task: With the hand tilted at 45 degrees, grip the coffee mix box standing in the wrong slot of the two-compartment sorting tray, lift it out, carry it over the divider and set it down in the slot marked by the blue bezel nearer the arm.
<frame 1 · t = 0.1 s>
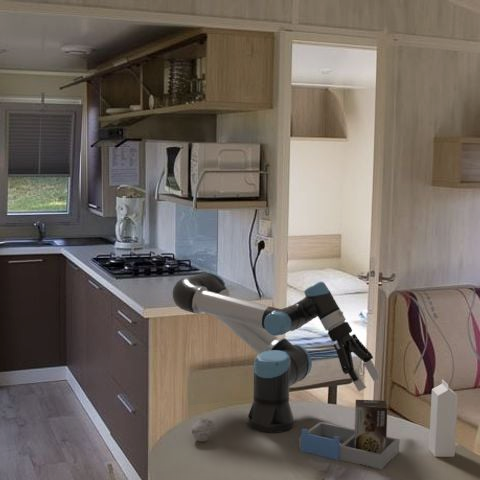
hand: (370, 384, 239), 15 cm above the table, tool tilted 35°, fingers open, 13 cm apart
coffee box: (369, 456, 221), resting in two-compartment sorting tray
grey lumpy rounded piece: (201, 441, 230), on the table
two-compartment sorting tray: (348, 450, 224), on the table
milk: (441, 453, 224), on the table
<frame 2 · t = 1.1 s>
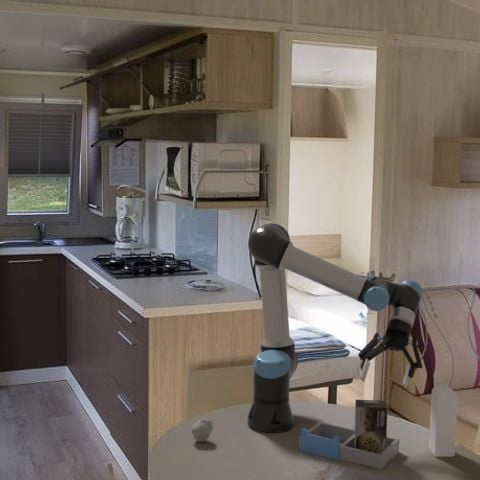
hand: (383, 382, 227), 20 cm above the table, tool tilted 45°, fingers open, 13 cm apart
nothing on the table moved.
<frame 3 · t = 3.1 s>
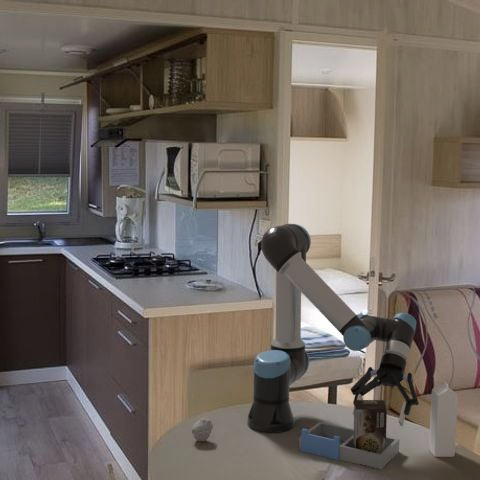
hand: (377, 420, 219), 11 cm above the table, tool tilted 45°, fingers open, 13 cm apart
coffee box: (369, 455, 221), resting in two-compartment sorting tray, touching gripper
everything else where it was.
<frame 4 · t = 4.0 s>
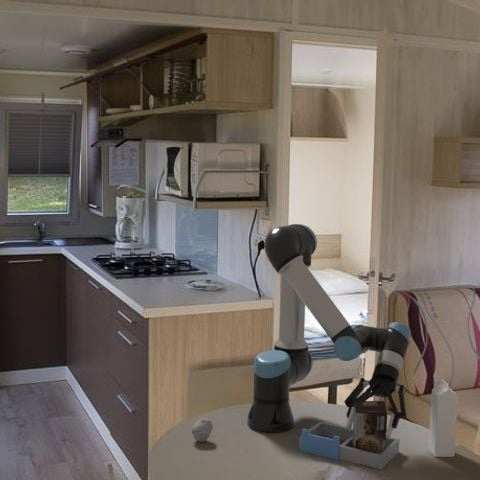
hand: (367, 432, 218), 8 cm above the table, tool tilted 45°, fingers open, 11 cm apart
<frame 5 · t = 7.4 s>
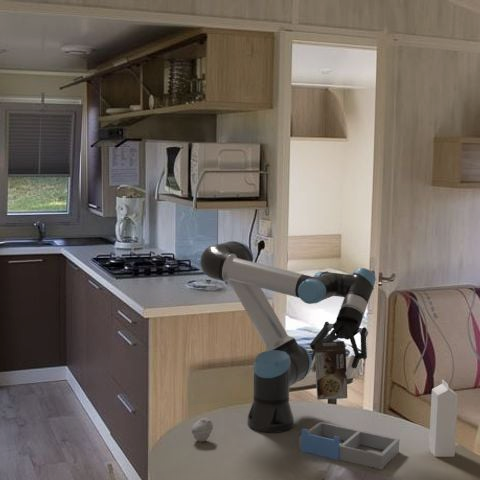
hand: (329, 373, 222), 24 cm above the table, tool tilted 45°, fingers closed on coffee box, 11 cm apart
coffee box: (331, 394, 225), point 16 cm above the table, touching gripper
everything else where it was.
when the fingers open (9 cm above the table, at t = 10.6 s): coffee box drops 2 cm, resting in two-compartment sorting tray.
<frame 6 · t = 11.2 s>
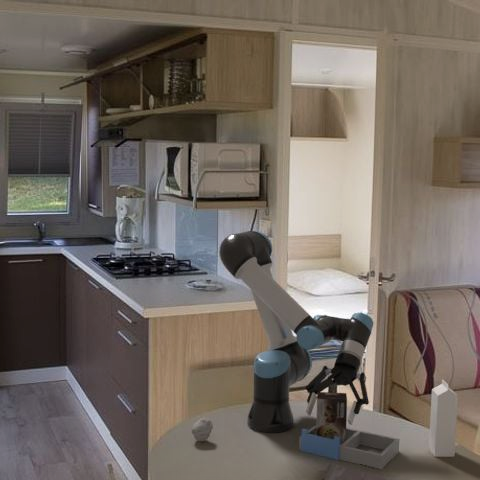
hand: (328, 418, 224), 10 cm above the table, tool tilted 45°, fingers open, 13 cm apart
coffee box: (330, 447, 227), resting in two-compartment sorting tray
everything else where it was.
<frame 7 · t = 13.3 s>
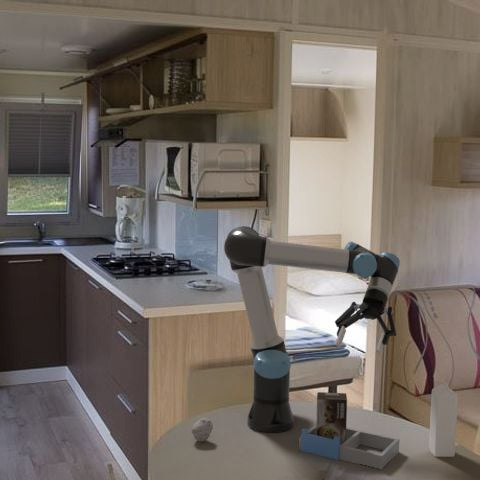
hand: (357, 348, 234), 28 cm above the table, tool tilted 45°, fingers open, 13 cm apart
nothing on the table moved.
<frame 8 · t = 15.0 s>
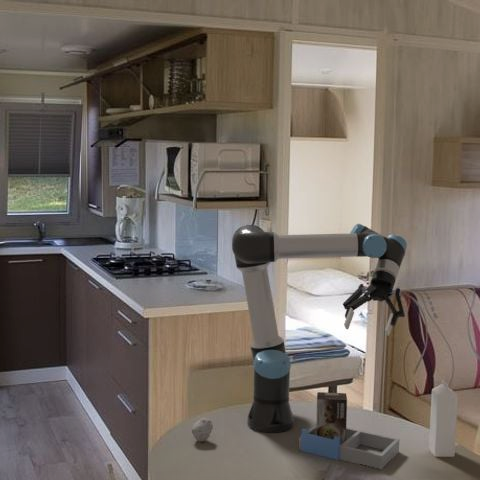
hand: (366, 330, 235), 34 cm above the table, tool tilted 45°, fingers open, 13 cm apart
nothing on the table moved.
at the end: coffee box inside the target area (0.2 cm from its centre), resting in two-compartment sorting tray; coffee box tilted 0°; the gripper is holding nothing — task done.
